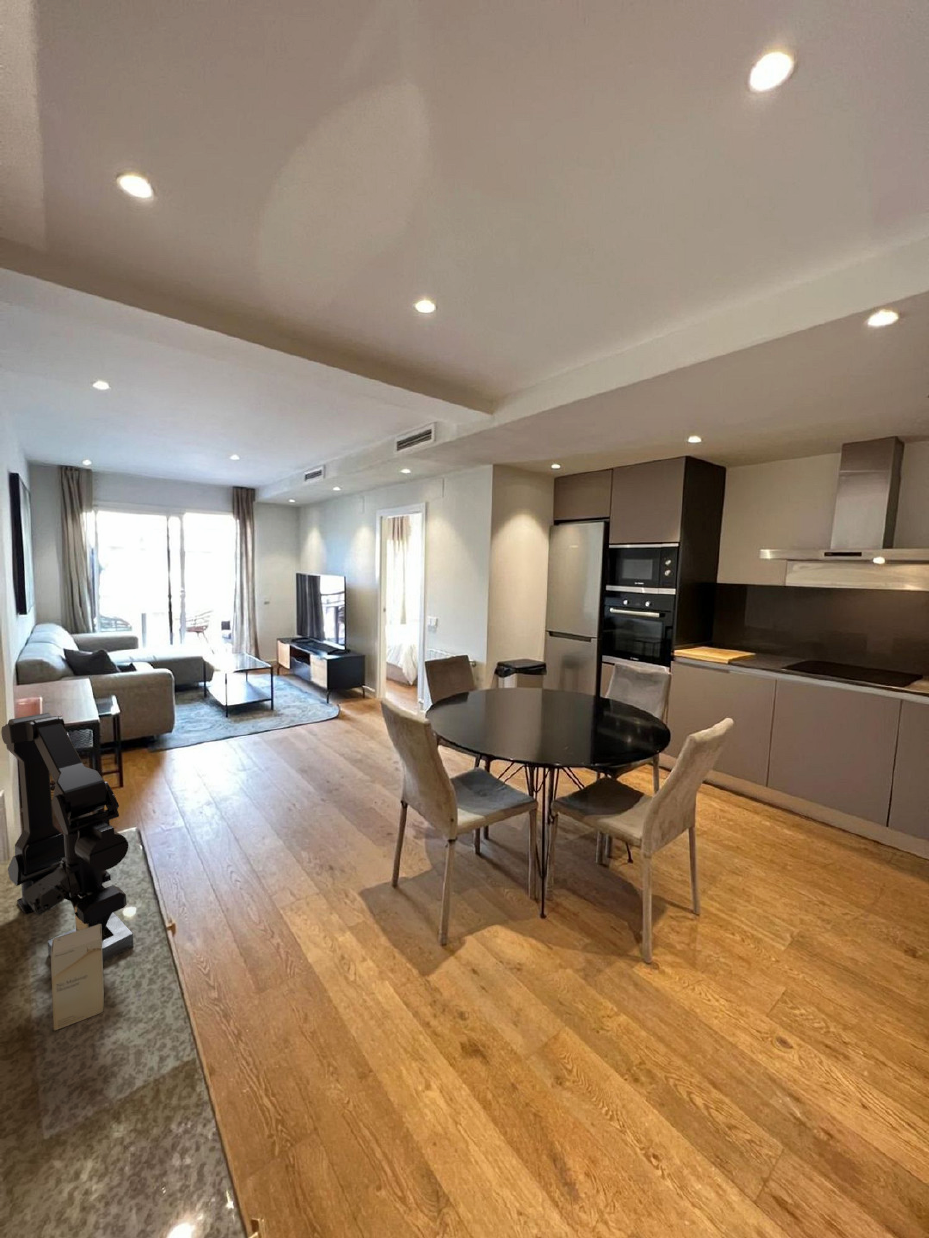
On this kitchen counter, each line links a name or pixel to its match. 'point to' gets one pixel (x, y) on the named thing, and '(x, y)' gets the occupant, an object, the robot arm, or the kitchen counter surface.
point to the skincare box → (77, 976)
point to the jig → (110, 938)
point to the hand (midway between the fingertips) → (90, 932)
